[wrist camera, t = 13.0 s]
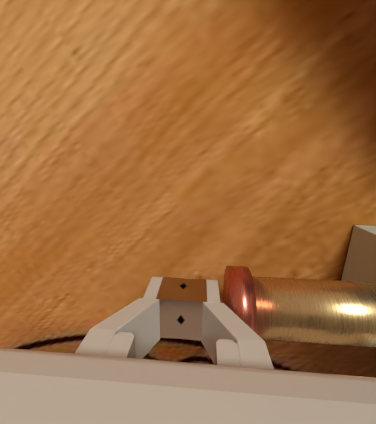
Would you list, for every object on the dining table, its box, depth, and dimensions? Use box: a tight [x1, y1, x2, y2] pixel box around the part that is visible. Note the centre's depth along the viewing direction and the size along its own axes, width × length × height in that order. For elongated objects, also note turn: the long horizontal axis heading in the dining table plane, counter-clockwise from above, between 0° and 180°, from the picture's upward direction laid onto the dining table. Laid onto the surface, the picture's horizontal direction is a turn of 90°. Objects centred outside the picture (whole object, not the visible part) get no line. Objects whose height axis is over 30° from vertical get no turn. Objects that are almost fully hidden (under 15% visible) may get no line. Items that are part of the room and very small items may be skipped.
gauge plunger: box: [223, 266, 376, 347], centre depth 9 cm, size 10×3×3 cm, turn 89°
